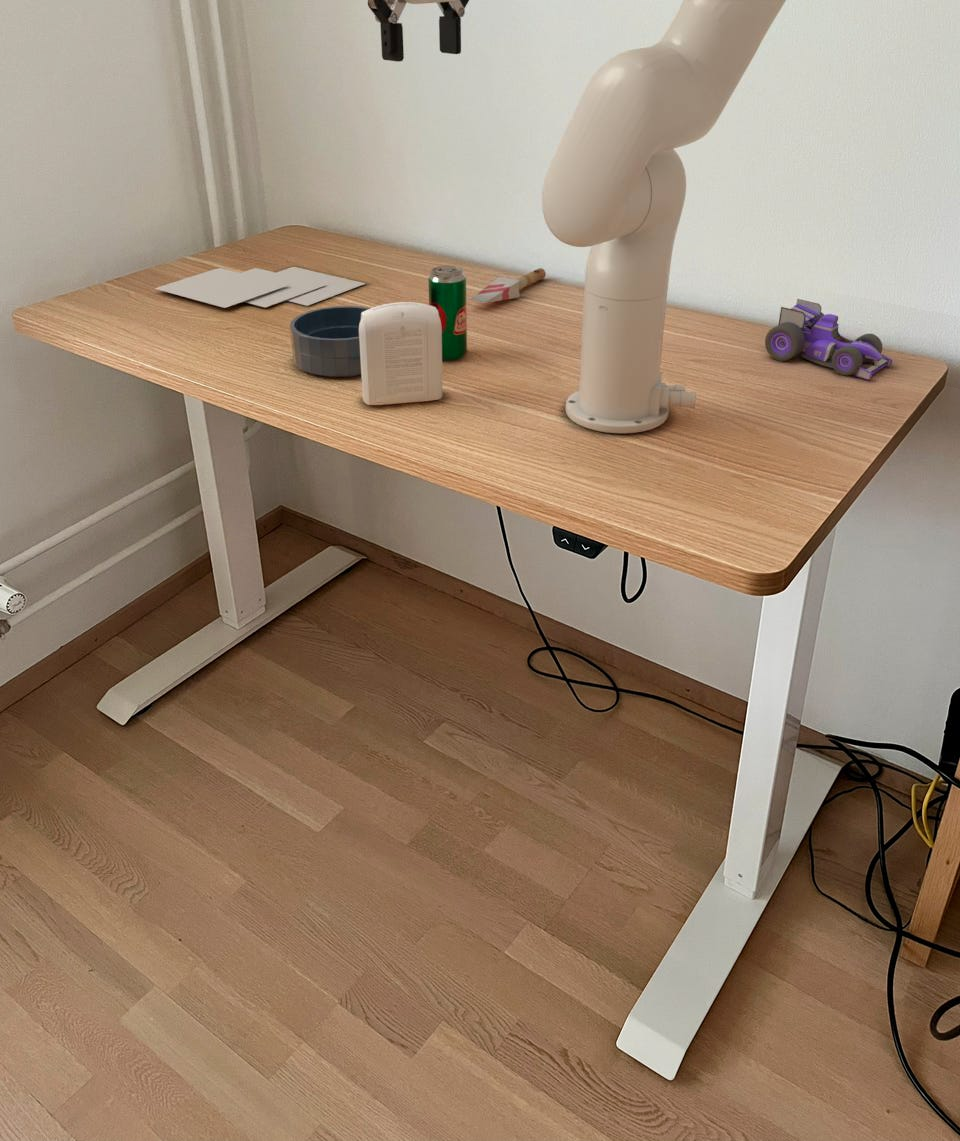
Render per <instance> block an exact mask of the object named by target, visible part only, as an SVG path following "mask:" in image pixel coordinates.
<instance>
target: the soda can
mask: <svg viewBox="0 0 960 1141" xmlns="http://www.w3.org/2000/svg"><path fill="white" fill-rule="evenodd" d="M428 305H430V306H433V307H436V309H437V310H438V313H439V317H440V321H441V327H442V362H455V361H459V360H461V359H463V358H464V357H465V356H466V354H467V353H468V338H467V337H468V333H467V332H468V329H467V328H468V327H467V326H468V324H467V320H468V318H467V316H468V315H467V313H468V312H467V277H466V275H465V273H464V269H463V267H460V266H456V265H439V266H435V267H433V268H431V269H430V275H429V276H428Z"/></svg>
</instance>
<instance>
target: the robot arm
mask: <svg viewBox="0 0 960 1141" xmlns="http://www.w3.org/2000/svg"><path fill="white" fill-rule="evenodd" d="M786 1H787V0H682V1H681V4H680V7H679V8H678V10H677V12H676V14H675V17H674V18H673V20H672V22H671V24H670V25H669V27H668V28H667V30H666V32H665V33H664V35H663V36H662V38H661V39H660V40H659V41H658V42H657V43H655V44H652V45H651V46H648V47H641V48H634V49H630V50H627V51H624V52H621V53H618V54H616V55H614V56H613V57H611V58H610V59H608V60H606V62H604V64H602V65H601V66H600V67H599V69H597V70H596V72H595V73H594V74H593V76H592V77H591V78H590V80H589V81H588V83H587V84H586V86H585V88H584V90H583V92H582V94H581V96H580V98H579V100H578V103H577V105H576V107H575V109H574V111H573V113H572V115H571V117H570V120H569V122H568V124H567V126H566V128H565V131H564V133H563V135H562V137H561V139H560V142H559V144H558V146H557V148H556V151H555V153H554V155H553V157H552V159H551V161H550V164H549V166H548V169H547V171H546V174H545V177H544V181H543V186H542V191H541V209H542V214H543V218H544V221H545V225H546V226H547V228H548V230H549V232H550V233H551V234H552V235H553V236H554V237H555V238H556V239H557V240H558V241H560V242H562V243H564V244H565V245H568V246H571V247H575V248H577V247H578V248H588V247H589V251H588V254H587V259H586V265H585V275H584V288H583V304H582V305H583V306H582V326H581V342H580V344H581V347H580V364H579V365H580V366H579V381H578V382H579V384H578V390H576V391H575V392H573V393H571V394H570V395H569V396H568V397H567V399H566V401H565V414H566V416H567V417H568V418H569V419H570V420H571V421H572V422H573V423H575V424H576V425H578V426H581V427H583V428H585V429H589V430H592V431H595V432H601V433H607V434H635V433H636V434H637V433H642V432H646V431H647V432H648V431H650V430H653V429H655V428H658V427H659V426H662V425H663V424H664V423H665V422H666V421H667V420H668V417H669V412H670V410H669V409H670V407H679V408H688V409H695V407H696V402H697V401H696V400H697V392H696V391H686V385H682V384H675V385H674V384H672V385H670V384H667V382H663V381H662V378H663V377H662V376H663V374H662V372H661V362H662V351H663V342H664V341H663V340H664V332H665V331H664V330H665V320H666V310H667V298H668V290H669V284H670V283H669V282H670V273H671V263H672V258H673V257H672V256H673V250H674V244H675V240H676V235H677V232H678V227H679V224H680V220H681V217H682V214H683V209H684V205H685V201H686V200H685V199H686V193H687V192H686V191H687V174H686V170H685V167H684V163H683V160H682V159H681V157H680V156H679V154H678V152H677V151H676V150H675V149H677V148H681V147H685V146H687V145H690V144H693V143H694V142H697V141H699V140H700V139H702V138H704V137H705V136H706V135H708V134H709V132H710V131H711V130H712V129H713V127H714V126H715V125H716V123H717V122H718V120H719V119H720V117H721V115H722V113H723V111H724V109H725V108H726V106H727V104H728V103H729V100H730V99H731V97H732V95H733V94H734V92H735V90H736V89H737V87H738V85H739V83H740V81H741V80H742V78H743V76H744V75H745V72H746V71H747V69H748V68H749V66H750V64H751V62H752V60H753V59H754V57H755V55H756V53H757V51H758V49H759V47H760V45H761V43H762V42H763V40H764V38H765V36H766V34H767V33H768V31H769V29H770V28H771V26H772V24H773V23H774V21H775V19H776V18H777V16H778V14H779V13H780V11H781V10H782V8H783V7H784V5H785V3H786ZM469 2H470V0H367V5H368V6H367V7H368V8H369V9H370V11H371V12H372V13H373V15H374V20H375V21H376V22H377V23H380V25H379V26H380V42H381V44H380V46H381V58H382V60H384V61H390V62H398V63H399V62H403V60H404V59H405V54H404V53H405V52H404V51H405V50H404V29H403V27H404V26H403V23H402V22H398V21H399V19H400V17H401V15H402V14H403V11H404V9H405V7H406V5H407V3H408V4H411V5H424V4H436V5H437V6H438V8H439V10H440V11H441V13H442V15H439V16H438V18H439V19H438V34H439V35H438V36H439V37H438V38H439V39H438V40H439V51H440V52H441V54H451V55H460V54H461V53H462V18H463V17H464V16H465V15H466V14H465V13H466V10H465V9H466V7H467V5H468V4H469Z"/></svg>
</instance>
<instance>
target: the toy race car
mask: <svg viewBox="0 0 960 1141" xmlns="http://www.w3.org/2000/svg"><path fill="white" fill-rule="evenodd" d="M838 320H839V316H838V315H835V314H832V313H827V314H824V313H823V312H822V306H821V304H820V303H818V302H813V301H808V300H805V299H800V298H797V299H796V303H795V305H793V307H791V308H788V307H784V306H781V307H780V312H779V319H778V324H777V325H775V326H773V327H772V328H771V329H770V330H768V332H767V333H766V335H765V339H764V346H765V349H766V352H767V354H768V355H769V356H770V357H771V358H772V359H774V360H776V361H780V362H785V361H789V360H790V359H792V358H794V357H796V356H798V355H800V358H802V359H805V360H807V361H810V362H811V363H812V362H813V363H815V364H817V365H819V366H823V367H827V368H831V369H833V370H834V371H835V373H837V374H839V375H841V376H850V375H852V374H854V373H856V374H855V377H858V378H860V379H864V380H868V381H871V380H872V377H873V374H875V373H876V372H878V371H880V370H881V369H883V368H885V367H891V366H892V365H893V361H894V359H892V358H890V357H888V356H886V355H885V354H882V352H883V342H882V340H881V339H880V337H879V336H877V335H876V334H873V333H865V334H862V335H860V336H858V337H857V338H856V339H855V340H852V339H849V338H846V337H844V335H841V334H840V332H839V323H838ZM801 352H802V353H801ZM800 353H801V354H800ZM870 362H874V364H873V365H871V366H870V367H868V368H864V367H862V365H863V363H864V364H865V363H870Z"/></svg>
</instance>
